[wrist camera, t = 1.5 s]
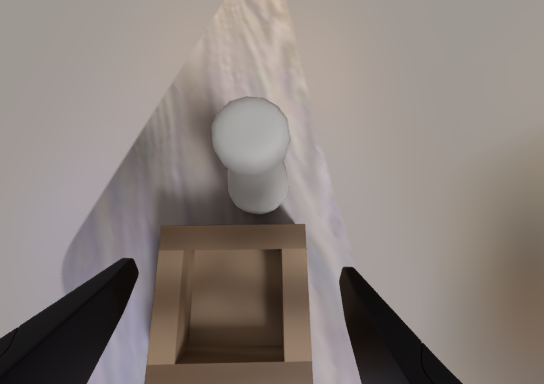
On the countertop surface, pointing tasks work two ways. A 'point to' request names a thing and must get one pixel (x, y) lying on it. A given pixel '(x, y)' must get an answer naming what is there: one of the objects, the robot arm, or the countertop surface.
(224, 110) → the salt shaker
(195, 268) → the socket block
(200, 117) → the countertop surface
